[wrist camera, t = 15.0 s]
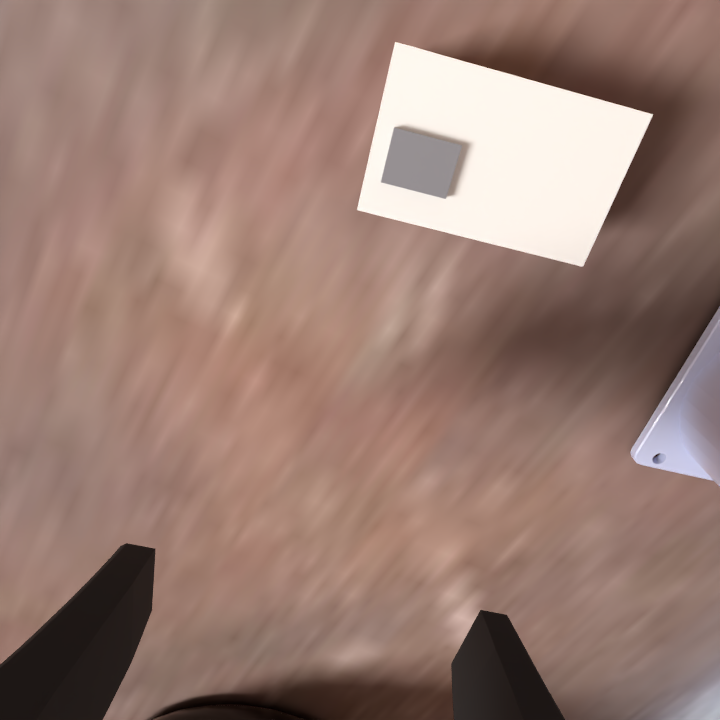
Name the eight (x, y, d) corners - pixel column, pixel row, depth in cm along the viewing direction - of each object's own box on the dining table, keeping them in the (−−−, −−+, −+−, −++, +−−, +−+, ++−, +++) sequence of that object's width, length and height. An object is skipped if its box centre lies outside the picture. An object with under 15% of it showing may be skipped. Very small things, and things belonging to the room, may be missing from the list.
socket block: (584, 115, 14) (660, 114, 10) (536, 233, 16) (587, 270, 12) (390, 61, 14) (396, 39, 10) (361, 188, 15) (356, 212, 12)
